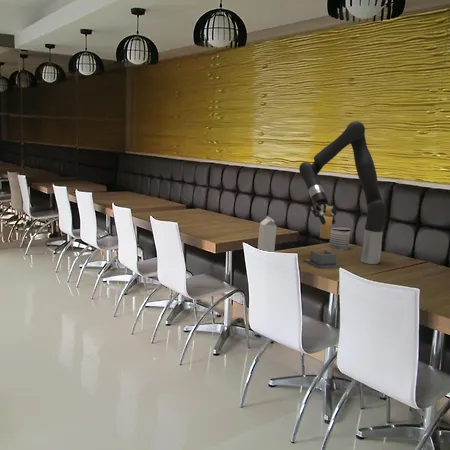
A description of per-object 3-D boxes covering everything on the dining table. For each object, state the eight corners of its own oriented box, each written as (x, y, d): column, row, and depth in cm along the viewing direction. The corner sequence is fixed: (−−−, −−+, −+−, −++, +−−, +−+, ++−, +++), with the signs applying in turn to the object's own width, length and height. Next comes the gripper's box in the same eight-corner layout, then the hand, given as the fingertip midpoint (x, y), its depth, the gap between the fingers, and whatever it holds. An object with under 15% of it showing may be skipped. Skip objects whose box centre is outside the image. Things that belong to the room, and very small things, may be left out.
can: (334, 249, 302) (336, 229, 300) (325, 245, 313) (327, 225, 311) (352, 250, 305) (354, 229, 303) (342, 245, 316) (345, 226, 314)
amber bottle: (324, 236, 267) (328, 205, 264) (332, 238, 263) (336, 207, 260) (317, 237, 264) (321, 205, 261) (325, 239, 260) (329, 207, 257)
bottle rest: (304, 261, 269) (305, 249, 268) (325, 260, 275) (326, 248, 274) (318, 268, 258) (320, 256, 256) (340, 267, 263) (341, 255, 262)
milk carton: (261, 252, 280) (265, 217, 277) (257, 249, 287) (260, 215, 283) (274, 253, 282) (277, 218, 279) (269, 249, 289) (272, 215, 285)
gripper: (309, 191, 263) (320, 219, 255) (333, 191, 269) (344, 219, 261) (302, 199, 269) (313, 227, 260) (325, 200, 275) (337, 227, 267)
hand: (329, 223), depth 261 cm, fingers closed on amber bottle, 5 cm apart
